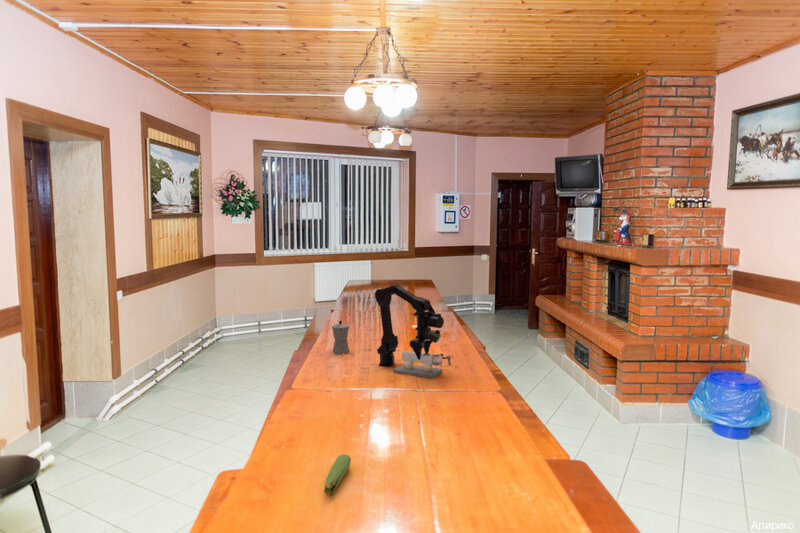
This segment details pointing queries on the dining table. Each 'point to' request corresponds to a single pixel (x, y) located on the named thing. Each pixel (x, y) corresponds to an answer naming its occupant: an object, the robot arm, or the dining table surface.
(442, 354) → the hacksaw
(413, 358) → the spanner
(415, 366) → the tool rack
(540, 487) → the dining table surface
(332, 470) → the edible corn
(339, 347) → the coffeepot
